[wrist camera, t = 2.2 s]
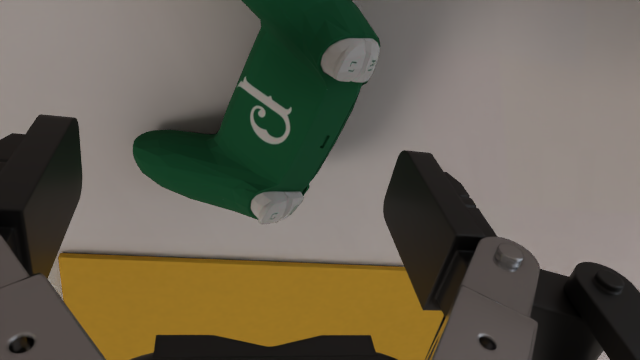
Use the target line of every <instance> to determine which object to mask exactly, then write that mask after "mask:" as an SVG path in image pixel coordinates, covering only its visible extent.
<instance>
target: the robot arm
mask: <svg viewBox="0 0 640 360" xmlns="http://www.w3.org/2000/svg"><path fill="white" fill-rule="evenodd" d="M81 189H82V165H81V151H80V137H79V126H78V121H77V119H76V118H72V117H62V116H52V115H39V116H38V117H37V118H36V120H35V121H34V123H33V124H32V126H31V127H30V128H29V130H28V131H27V133H26V134H14V133H12V134H10V135H8V136H6V137H5V138H3V139H1V140H0V360H106V359H105V357H104V356H103V354H102V353H101V352H100V350H99V349H98V348H97V346H96V345H95V344H94V342H93V341H92V339H91V338H90V337H89V335H88V334H87V333H86V331H85V330H84V328H83V327H82V326H81V324H80V323H79V322H78V320H77V319H76V318H75V316H74V315H73V313H72V312H71V311H70V309H69V308H68V307H67V305H66V304H65V303H64V301H63V300H62V298H61V297H60V296H59V294H58V293H57V292H56V290H55V289H54V287H53V286H52V285H51V283H50V282H49V281H48V279H47V278H48V276H49V273H50V271H51V268H52V266H53V263H54V261H55V258H56V256H57V254H58V251H59V249H60V246H61V244H62V241H63V239H64V236H65V234H66V231H67V229H68V226H69V224H70V221H71V219H72V217H73V214H74V212H75V209H76V207H77V204H78V202H79V199H80V195H81ZM383 212H384V218H385V221H386V224H387V226H388V229H389V231H390V233H391V236H392V238H393V240H394V243H395V245H396V248H397V250H398V252H399V255H400V257H401V259H402V262H403V264H404V267H405V269H406V271H407V274H408V276H409V279H410V281H411V283H412V286H413V288H414V290H415V293H416V295H417V298H418V300H419V302H420V305H421V307H422V309H423V310H433V311H442V312H443V315H444V316H443V318H442V320H441V322H440V324H439V327H438V329H437V331H436V334H435V336H434V338H433V341H432V343H431V345H430V348H429V350H428V352H427V354H426V357H425V359H424V360H597V358H598V357H599V356H600V355H601V353H602V352H603V351H605V353H606V354H607V356H608V357H609V359H610V360H640V292H639V291H638V290H637V289H636V288H635V286H634V285H633V284H632V283H631V282H630V281H629V280H627V279H626V278H625V277H624V276H622V275H621V274H619V273H618V272H616V271H614V270H612V269H611V268H608V267H606V266H603V265H601V264H597V263H592V262H583V263H580V264H578V265H577V266H576V267H575V269H574V271H573V272H572V274H571V275H570V277H567V276H564V275H560V274H557V273H553V272H549V271H546V270H542V269H540V266H539V263H538V261H537V260H536V258H535V257H534V256H533V255H532V253H530V252H529V251H528V250H527V249H526V248H524V247H523V246H521V245H519V244H518V243H516V242H514V241H511V240H509V239H505V238H502V237H497V235H496V234H495V232H494V231H493V229H492V228H491V226H490V225H489V224H488V222H487V221H486V219H485V218H484V216H483V215H482V213H481V212H480V210H479V209H478V208H476V205H475V203H474V202H473V200H472V199H471V198H469V194H468V193H467V191H466V190H465V189H464V187H463V186H462V184H461V183H460V182H458V181H457V180H456V179H455V178H453V177H452V176H451V175H450V174H448V173H447V172H443V170H442V169H441V167H440V166H439V164H438V163H437V161H436V160H435V158H434V157H433V155H432V154H431V153H426V152H416V151H405V150H404V151H402V152H401V153H400V154H399V156H398V159H397V162H396V165H395V168H394V171H393V174H392V177H391V180H390V183H389V186H388V189H387V192H386V195H385V199H384V207H383ZM129 360H398V359H396V358H393V357H391V356H388V355H385V354H382V353H378V352H376V351H375V348H374V345H373V341H372V338H371V335H320V336H316V337H312V338H307V339H303V340H299V341H295V342H290V343H286V344H282V345H277V346H270V347H268V346H262V345H257V344H253V343H248V342H243V341H239V340H234V339H230V338H225V337H220V336H216V335H156V339H155V346H154V352H153V353H149V354H145V355H141V356H138V357H135V358H132V359H129Z"/></svg>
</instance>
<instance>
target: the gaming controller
mask: <svg viewBox="0 0 640 360" xmlns="http://www.w3.org/2000/svg"><path fill="white" fill-rule="evenodd" d="M242 1H243V2H244V3H245V4H246V5H247V6H248V7H249V8H250V10H251V11H252V12H253V13H254V14H255V15H256V16H257V17H258V18H259V19H260V20H261V29H260V31H259V34H258V36H257V38H256V40H255V43H254V45H253V47H252V49H251V52H250V54H249V56H248V59H247V61H246V64H245V66H244V68H243V71H242V73H241V76H240V78H239V81H238V83H237V85H236V88H235V90H234V93H233V95H232V98H231V100H230V102H229V105H228V107H227V110H226V113H225V115H224V118H223V121H222V124H221V127H220V130H219V131H218V133H217V134H202V133H194V132H186V131H177V130H154V131H149V132H146V133H144V134H141V135H140V136H138V137H137V138H136V139H135V141H134V144H133V155H134V159H135V161H136V163H137V165H138V166H139V168H140V170H141V171H142V173H144V174H145V175H147V176H148V177H149V178H151V179H152V180H153V181H155V182H156V183H157V184H159V185H160V186H162V187H164V188H166V189H169V190H171V191H174V192H176V193H178V194H181V195H183V196H186V197H188V198H190V199H194V200H197V201H201V202H204V203H208V204H211V205H215V206H218V207H222V208H225V209H229V210H232V211H235V212H238V213H241V214H244V215H247V216H249V217H252V218H255V219H258V220H259V223H261V224H270V223H274V222H278V221H281V220H283V219H285V218H286V217H288V216H289V215H291V214H292V213H293V212H294V211H295V209H296V208H297V207H298V206H299V205H300V204H301V202H302V201H303V198H304V197H303V196H304V194H305V193H306V192H307V190H308V189H309V183H310V181H312V179H313V178H314V177H315V175H316V174H317V173H318V171H319V169H320V168H321V166H322V164H323V163H324V161H325V159H326V158H327V156H328V154H329V152H330V151H331V149H332V147H333V146H334V144H335V142H336V140H337V139H338V137H339V135H340V133H341V131H342V129H343V127H344V125H345V123H346V121H347V119H348V117H349V115H350V114H351V112H352V110H353V108H354V105H355V102H356V100H357V97H358V94H359V92H360V89H361V86H362V85H364V84H366V83H367V81H368V80H369V79H370V77H371V75H372V74H373V72H374V69H375V66H376V63H377V60H378V58H379V51H380V41H379V38H378V36H377V35H376V33H375V32H374V31H373V29H372V28H371V26H370V25H369V23H368V22H367V20H366V19H365V17H364V16H363V14H362V13H361V11H360V10H359V8H358V7H357V6H356V5H355V4H354V3H353V2H352V0H242Z"/></svg>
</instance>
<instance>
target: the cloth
mask: <svg viewBox="0 0 640 360" xmlns="http://www.w3.org/2000/svg"><path fill="white" fill-rule="evenodd" d="M58 260H59V268H60V276H61V284H62V292H63V300H64V303H65V304H66V305H67V307H68V308H69V309H70V311H71V312H72V313H73V315H74V316H75V318H76V319H77V320H78V322H79V323H80V324H81V326H82V327H83V328H84V330H85V331H86V333H87V334H88V335H89V337H90V338H91V339H92V341H93V342H94V344H95V345H96V346H97V348H98V349H99V350H100V352H101V353H102V354H103V356H104V357H105V359H106V360H129V359H132V358H135V357H138V356H141V355H145V354H149V353H153V352H154V346H155V339H156V335H216V336H220V337H225V338H230V339H234V340H239V341H243V342H248V343H253V344H257V345H262V346H268V347H270V346H277V345H282V344H286V343H290V342H295V341H299V340H303V339H307V338H312V337H316V336H320V335H371V338H372V341H373V345H374V348H375V351H376V352H378V353H382V354H385V355H388V356H391V357H393V358H396V359H398V360H424V359H425V357H426V354H427V352H428V350H429V348H430V345H431V343H432V341H433V338H434V336H435V334H436V331H437V329H438V327H439V324H440V322H441V320H442V318H443V316H444V315H443V312H442V311H433V310H423V309H422V307H421V305H420V302H419V300H418V298H417V295H416V293H415V290H414V288H413V286H412V283H411V281H410V279H409V276H408V274H407V271H406V269H405V267H395V266H370V265H346V264H321V263H296V262H272V261H247V260H222V259H198V258H173V257H148V256H123V255H99V254H74V253H60V254H59V257H58Z"/></svg>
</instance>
